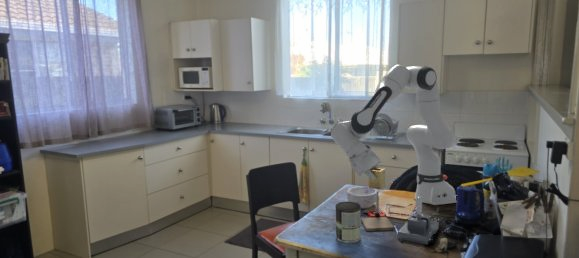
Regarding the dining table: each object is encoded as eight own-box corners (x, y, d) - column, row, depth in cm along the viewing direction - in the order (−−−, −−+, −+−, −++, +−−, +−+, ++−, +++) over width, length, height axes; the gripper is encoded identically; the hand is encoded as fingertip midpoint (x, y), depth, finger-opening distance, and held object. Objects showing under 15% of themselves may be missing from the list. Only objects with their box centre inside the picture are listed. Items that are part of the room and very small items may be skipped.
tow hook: (367, 212, 201) (368, 218, 192) (367, 186, 200) (368, 191, 191) (385, 212, 200) (386, 219, 191) (385, 186, 198) (386, 192, 189)
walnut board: (386, 219, 190) (386, 217, 190) (394, 229, 178) (394, 227, 178) (360, 220, 190) (360, 218, 189) (366, 231, 178) (366, 228, 178)
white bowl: (341, 205, 210) (341, 190, 209) (359, 198, 220) (359, 184, 219) (365, 213, 199) (365, 197, 198) (383, 205, 209) (383, 190, 208)
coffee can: (331, 239, 171) (330, 206, 169) (344, 230, 179) (343, 199, 176) (352, 245, 164) (352, 211, 162) (365, 236, 172) (365, 204, 170)
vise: (410, 223, 184) (411, 189, 182) (438, 228, 178) (439, 193, 175) (397, 238, 169) (398, 201, 167) (427, 244, 163) (428, 206, 160)
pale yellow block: (373, 184, 185) (373, 167, 184) (384, 186, 182) (385, 168, 181) (368, 187, 180) (368, 170, 179) (380, 189, 177) (380, 171, 176)
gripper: (352, 153, 174) (374, 178, 170) (370, 144, 191) (391, 167, 187) (342, 162, 177) (364, 187, 173) (361, 153, 194) (381, 175, 190)
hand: (378, 177), depth 180 cm, fingers closed on pale yellow block, 5 cm apart
